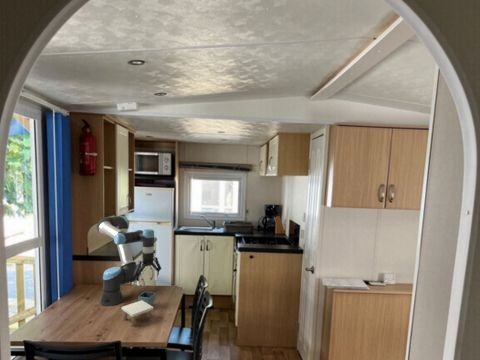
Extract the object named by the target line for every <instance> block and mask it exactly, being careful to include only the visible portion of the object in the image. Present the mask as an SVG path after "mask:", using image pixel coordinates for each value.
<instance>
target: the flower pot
mask: <svg viewBox="0 0 480 360" xmlns="http://www.w3.org/2000/svg"><path fill="white" fill-rule="evenodd" d="M155 299H156V292H151V291H144V292H142V293H140V295H138V301H141V300H142V301H144V302H146V303H147V304H149V305H151V306H152V307H153V305H154V302H155V301H156V300H155Z"/></svg>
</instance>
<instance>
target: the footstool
mask: <svg viewBox="0 0 480 360" xmlns="http://www.w3.org/2000/svg"><path fill="white" fill-rule="evenodd" d="M121 310H122V311H123V321H127V320H128V315H129V316H130V317H131V327H135V326H136V317H137V316H139V315H141V316H142V315H143V314H145V313H147V314H146V315H147V318H146V319H147V321H151V319H152V318H151V317H152V311H153V310H154V306H153V305H152V306H151V305H149V304H147V303H146V302H144V301H142V300H141V301H139V300H138V301H135V302H132V303H129V304H127V305H123V306H121Z"/></svg>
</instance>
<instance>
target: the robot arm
mask: <svg viewBox="0 0 480 360" xmlns="http://www.w3.org/2000/svg"><path fill="white" fill-rule="evenodd" d="M129 228H130V222H129V220H128V218H127V217H126V216H124V215H122V216H121V215H118V216H109V217H103V218H101V219H100V220H99V221H98V222H97V224H96V229H97V231H98V232H99V233H100V234H103V235H107V237H110V238H111V239H113V242H114V244H115V245H116V247H117V251H118V254H119V258H120V263H121V265H120V266H113V267H110V268H107V269H105V270H104V272H103V275H102V293H101V295H100V299H99V304H100V305H101V306H104V307H110V306H116V305H119V304H121V303H122V302H123V300H124V295H123V294H122V290H121V289H122V288H121V287H122V285H127V284H130V283H134V282H136V285H137V286H139V287H140V286H141V275H142V272H143V270H144V269H145V268H146V267H150V266H152V267H153V268H154V280H155V281H158V279H159V275H160V274H159V273H160V271H161V270H162V267H161V264H160V263H159V259H158V257H156V256H155V252H154V251H155V231H154V230H153V229H149V228H148V229H143V230H140V229H138V230H134V231H129V232H128V230H129ZM139 242H141V243H142V256H141V257H142V260H138V261H137V262H136V261H134V259H133V254H132V250H131V247H130V244H132V243H139Z"/></svg>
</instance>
